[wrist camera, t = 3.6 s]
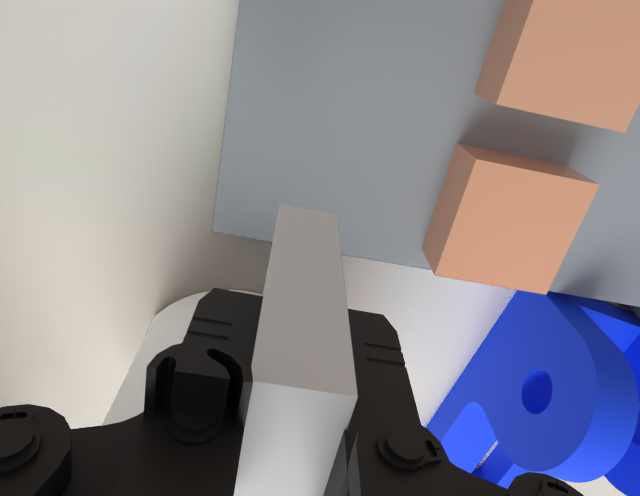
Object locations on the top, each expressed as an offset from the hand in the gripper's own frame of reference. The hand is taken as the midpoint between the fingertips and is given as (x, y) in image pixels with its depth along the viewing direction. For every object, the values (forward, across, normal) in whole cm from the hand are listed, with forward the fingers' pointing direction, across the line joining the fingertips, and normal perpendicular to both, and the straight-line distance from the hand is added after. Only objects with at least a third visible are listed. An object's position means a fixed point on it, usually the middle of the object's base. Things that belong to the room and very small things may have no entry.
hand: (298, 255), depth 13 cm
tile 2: (+8, +9, +7) cm, 14 cm away
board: (+11, +8, +3) cm, 14 cm away
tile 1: (+8, +8, 0) cm, 12 cm away
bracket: (+11, +16, -14) cm, 24 cm away
